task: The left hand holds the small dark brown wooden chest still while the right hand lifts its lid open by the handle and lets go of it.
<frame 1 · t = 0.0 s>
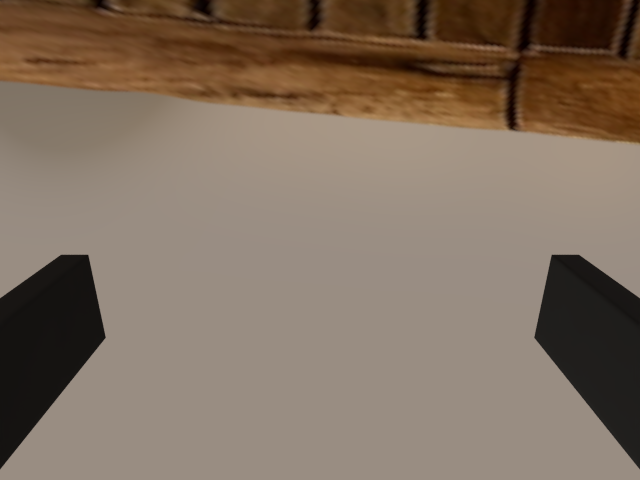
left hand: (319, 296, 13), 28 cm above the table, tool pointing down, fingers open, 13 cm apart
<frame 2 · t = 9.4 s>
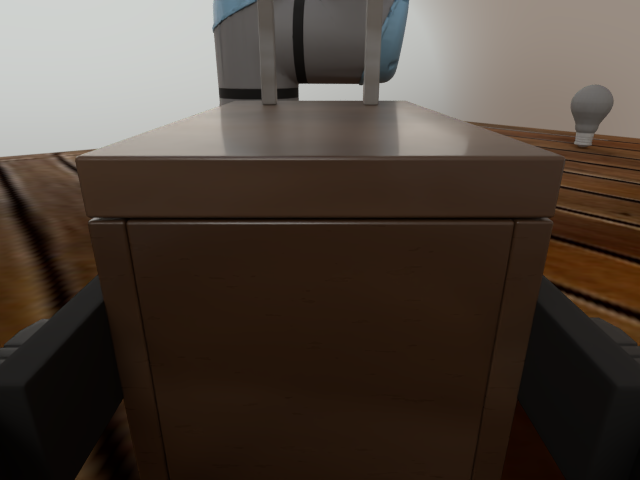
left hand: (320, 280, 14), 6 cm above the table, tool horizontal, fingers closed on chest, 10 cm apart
lid: (320, 17, 15), point 14 cm above the table, hinge at 0.0°
light bulb: (582, 147, 75), on the table
chest: (320, 358, 20), on the table, touching left hand
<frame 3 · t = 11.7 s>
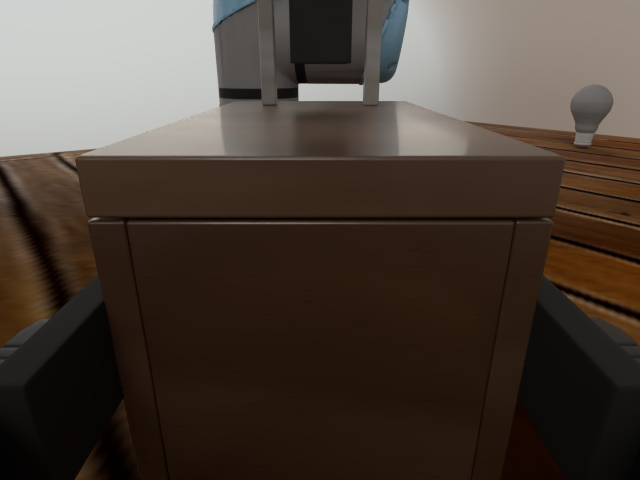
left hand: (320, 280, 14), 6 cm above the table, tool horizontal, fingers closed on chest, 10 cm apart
lid: (320, 17, 15), point 14 cm above the table, hinge at -0.1°, touching right hand
light bulb: (581, 147, 75), on the table
chest: (320, 358, 20), on the table, touching left hand
when the left hand's fingers open (6 cm above the table, at t = 19.7 s): chest stays where it is, on the table.
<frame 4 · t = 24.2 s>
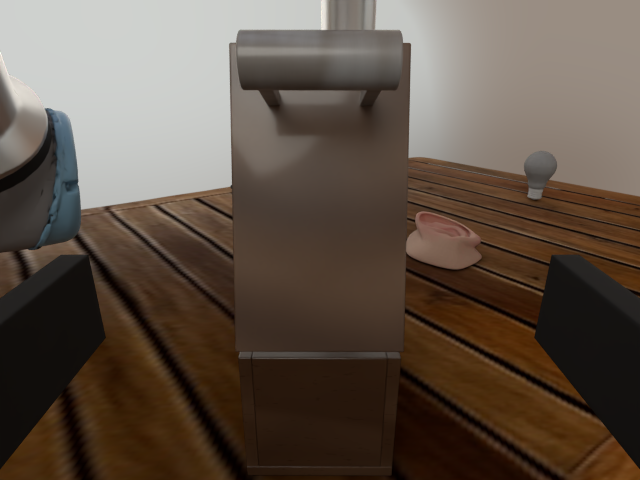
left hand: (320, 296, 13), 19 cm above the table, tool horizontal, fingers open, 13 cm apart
anatomical model: (441, 251, 66), on the table
lid: (319, 204, 21), point 19 cm above the table, hinge at 74.9°
light bulb: (533, 200, 91), on the table
chest: (319, 391, 37), on the table
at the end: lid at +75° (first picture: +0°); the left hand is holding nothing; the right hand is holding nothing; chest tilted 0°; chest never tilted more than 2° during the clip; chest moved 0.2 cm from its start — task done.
